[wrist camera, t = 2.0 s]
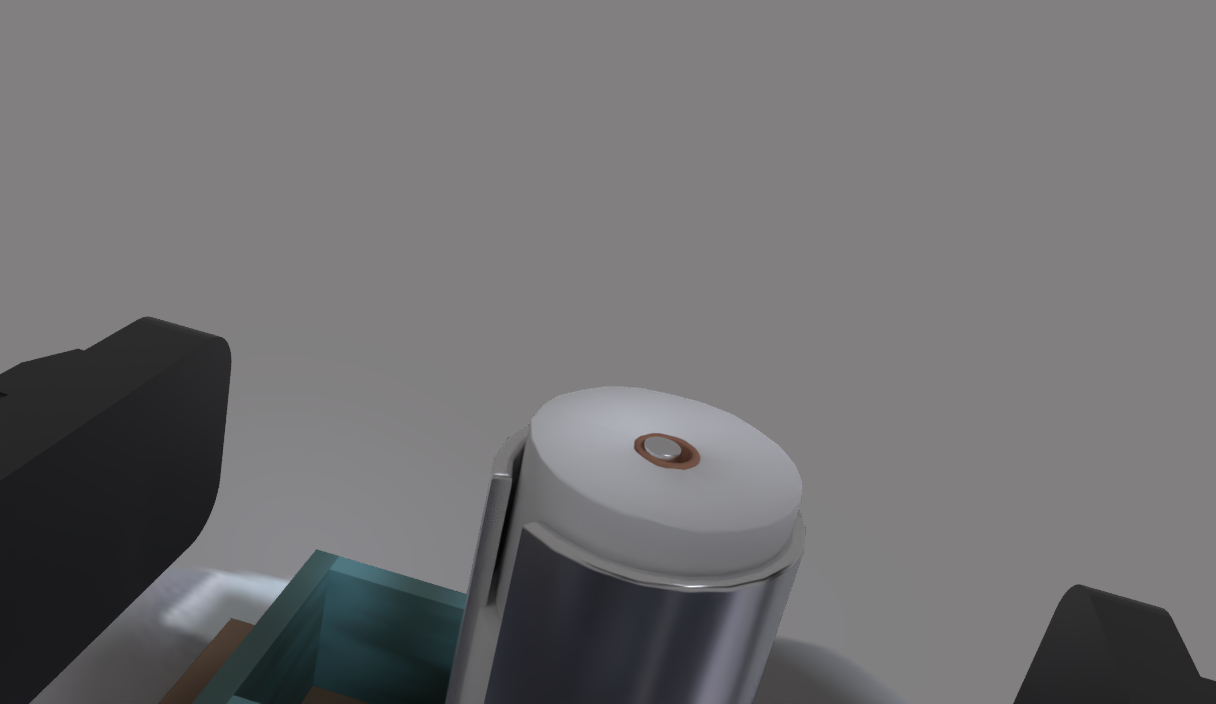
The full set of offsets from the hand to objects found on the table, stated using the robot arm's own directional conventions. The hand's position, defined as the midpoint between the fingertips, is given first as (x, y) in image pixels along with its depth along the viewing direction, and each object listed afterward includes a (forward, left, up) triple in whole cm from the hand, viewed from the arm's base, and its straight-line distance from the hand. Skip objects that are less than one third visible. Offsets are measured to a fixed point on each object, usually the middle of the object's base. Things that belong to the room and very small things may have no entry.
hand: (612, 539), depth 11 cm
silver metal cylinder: (0, -11, -30) cm, 32 cm away
